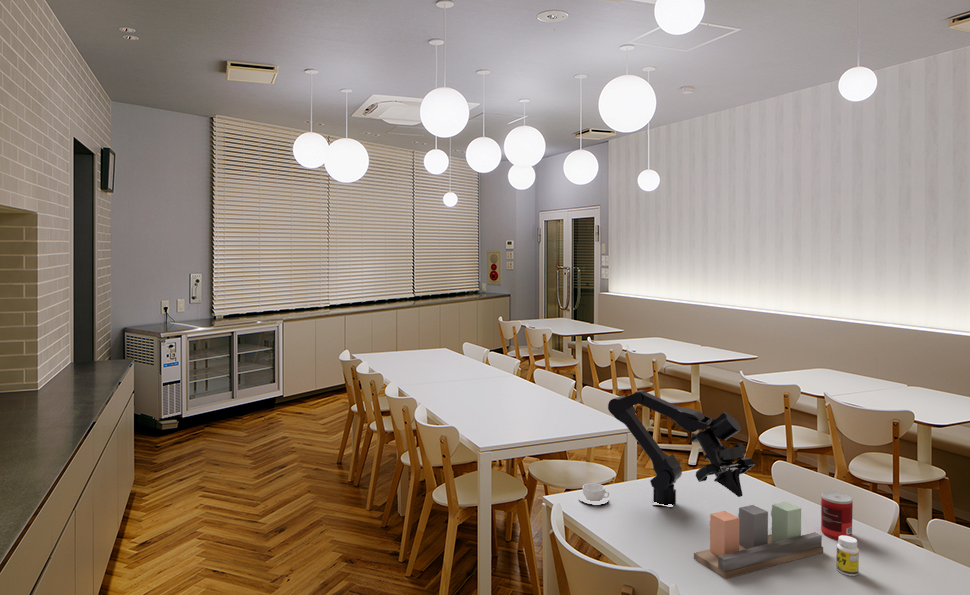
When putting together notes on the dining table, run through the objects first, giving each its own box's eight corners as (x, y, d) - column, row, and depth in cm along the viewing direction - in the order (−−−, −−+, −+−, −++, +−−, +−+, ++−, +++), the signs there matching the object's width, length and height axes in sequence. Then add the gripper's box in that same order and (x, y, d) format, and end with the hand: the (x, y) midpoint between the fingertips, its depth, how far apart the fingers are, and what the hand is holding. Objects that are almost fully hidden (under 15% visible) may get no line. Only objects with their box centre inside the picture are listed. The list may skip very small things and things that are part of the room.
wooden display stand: (693, 558, 153) (693, 541, 153) (787, 535, 166) (788, 520, 165) (725, 578, 143) (725, 560, 142) (823, 552, 155) (823, 535, 155)
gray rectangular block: (735, 542, 158) (736, 506, 158) (749, 539, 160) (749, 503, 160) (753, 552, 153) (753, 514, 152) (767, 548, 155) (768, 511, 154)
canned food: (847, 530, 169) (848, 492, 168) (855, 542, 161) (856, 503, 161) (818, 526, 171) (818, 490, 171) (824, 538, 164) (824, 500, 163)
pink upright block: (707, 549, 154) (707, 512, 154) (721, 545, 156) (721, 509, 156) (724, 559, 149) (724, 521, 148) (739, 555, 151) (739, 517, 150)
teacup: (575, 504, 190) (575, 490, 190) (582, 493, 199) (582, 480, 199) (606, 508, 186) (606, 494, 186) (611, 497, 195) (611, 484, 195)
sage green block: (768, 538, 160) (769, 503, 160) (781, 535, 162) (782, 500, 162) (787, 548, 155) (787, 511, 154) (800, 544, 157) (801, 508, 156)
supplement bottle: (831, 567, 148) (832, 534, 147) (849, 566, 148) (849, 534, 148) (845, 577, 143) (845, 543, 143) (863, 576, 143) (863, 542, 143)
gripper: (703, 438, 169) (732, 488, 159) (750, 431, 176) (781, 478, 167) (683, 456, 176) (710, 506, 167) (729, 449, 184) (757, 496, 174)
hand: (740, 496), depth 168 cm, fingers closed
